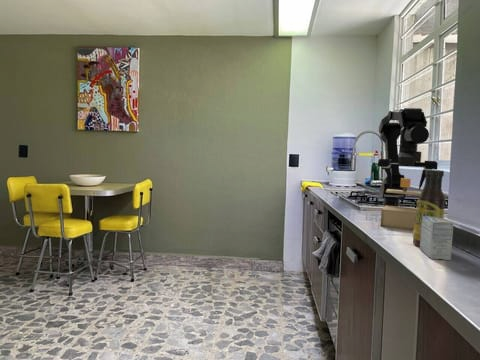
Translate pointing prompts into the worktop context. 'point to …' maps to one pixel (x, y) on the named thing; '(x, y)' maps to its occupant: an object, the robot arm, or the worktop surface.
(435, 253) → the medicine box
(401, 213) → the carton
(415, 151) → the robot arm
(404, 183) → the pull drawer
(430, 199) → the sauce bottle
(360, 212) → the worktop surface
